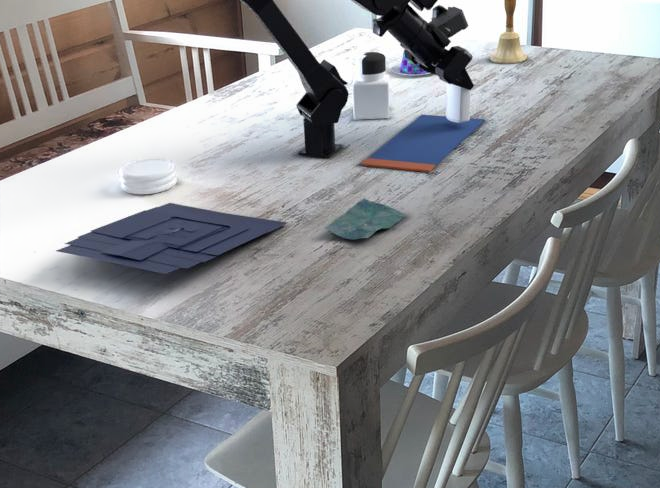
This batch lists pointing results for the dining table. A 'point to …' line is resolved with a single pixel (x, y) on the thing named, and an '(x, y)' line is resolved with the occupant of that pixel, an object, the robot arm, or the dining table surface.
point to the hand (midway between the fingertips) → (465, 84)
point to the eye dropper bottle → (457, 103)
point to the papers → (169, 237)
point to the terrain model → (364, 220)
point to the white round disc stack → (148, 176)
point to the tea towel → (422, 144)
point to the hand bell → (509, 40)
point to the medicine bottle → (370, 87)
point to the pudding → (408, 68)
